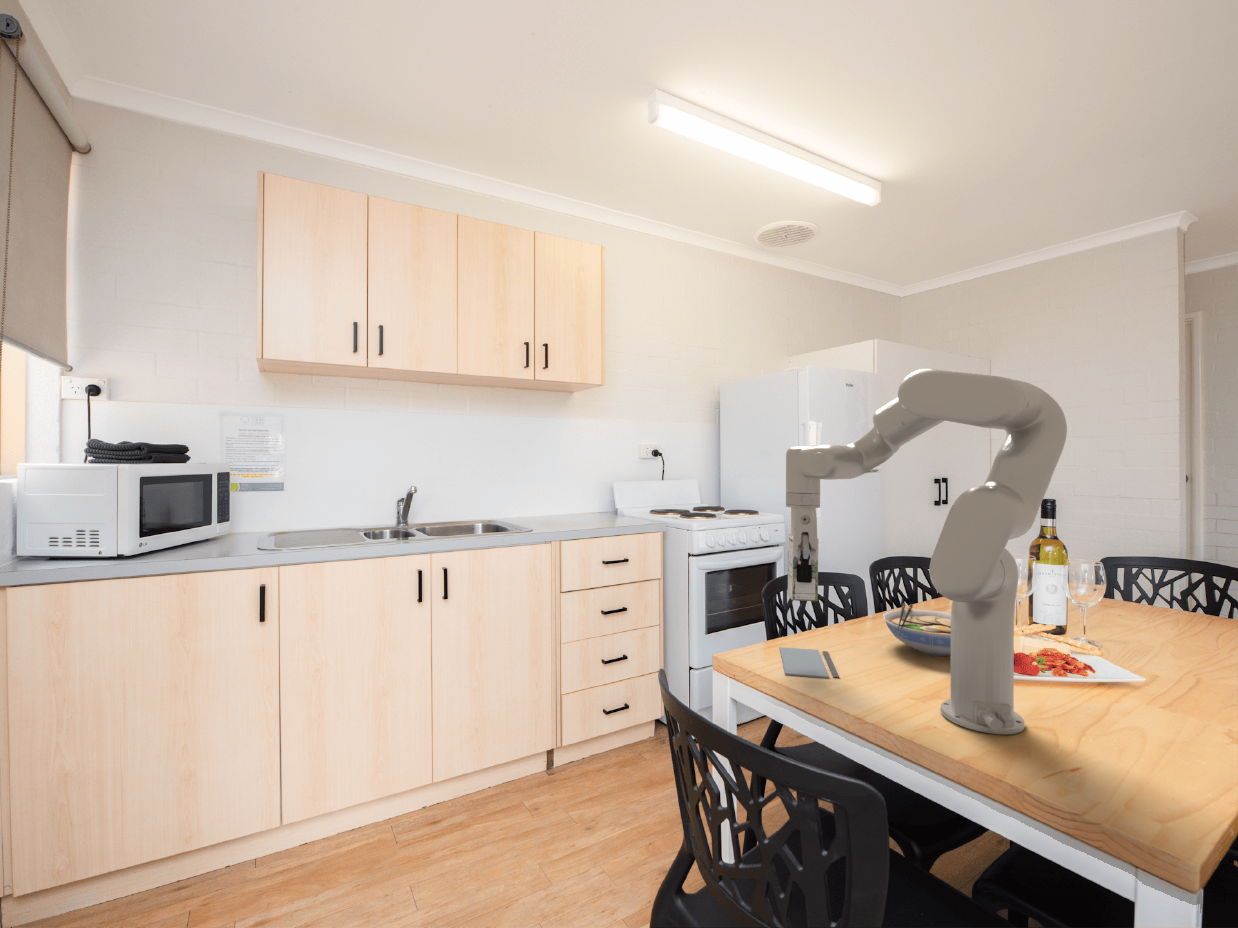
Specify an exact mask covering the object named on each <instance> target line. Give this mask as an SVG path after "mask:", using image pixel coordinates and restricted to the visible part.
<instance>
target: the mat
mask: <svg viewBox="0 0 1238 928" xmlns="http://www.w3.org/2000/svg"><path fill="white" fill-rule="evenodd" d="M779 651H780V656H781V661H782V665H783V666H782V667H783V671H784V675H785V676H791V677H792V676H793V677H805V678H806V677H807V678H820V679H830V675H829V672H828V670H827V668H826V664H825V663H824V660H823V658H822V656H821V653H820V651H819V649H810V648H799V647H797V648H796V647H782V646H779Z"/></svg>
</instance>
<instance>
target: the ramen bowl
mask: <svg viewBox="0 0 1238 928" xmlns="http://www.w3.org/2000/svg"><path fill="white" fill-rule="evenodd" d="M901 605H902V606H901V609H896V610H890V611H887V612H885V613H883V614H882V617H883V620H884V621H885V624H886V626H887V627H888V629H889V631H890V632H891V634H893V636H894V637H895V638H896V639H897V640H899V641H900V642H902V643H903V644H905V645H906V646H909V647H910V648H913V649H916V651H918V652H920V653H922V654H924V655H929V656H936V657H947V656H951V612H950V613H949V612H943V611H937V610H927V609H926V610H925V609H913V606H914V605H913V603H910V604H909V606H908V609H906V603H905V602H903V603H902V604H901Z"/></svg>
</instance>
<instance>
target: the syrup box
mask: <svg viewBox="0 0 1238 928" xmlns="http://www.w3.org/2000/svg"><path fill="white" fill-rule="evenodd" d="M817 545H818V546H819V538H818V537H817ZM800 550H803V548H801V547H800ZM814 551H815V550H812V549H811V565H812V582H811V583H801V582H797V564H798V552H797V551H796V550H795V547H794V538H793V536H792V535H791V534H788V535H787V584H786V585H787V586H786V587H787V588H786V589H787V596H788V597H789V598H790V599H791V601H794V602H795V601H798V602H801V601H802V602H803V601H804V602H818V595H819V593H818V591H819V549H818V550H817V552H814Z"/></svg>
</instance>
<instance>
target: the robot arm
mask: <svg viewBox="0 0 1238 928" xmlns="http://www.w3.org/2000/svg"><path fill="white" fill-rule="evenodd" d="M872 421H873V427H872V428H871V429H870V430H869V431H868V432H867V433H866V434H864V435H862V436H861V437H860V438H858V439H856V440H854V441H853V442H851V443H850V444H847V445H845V444H843V445H842V444H822V445H817V446H792V447H788V448H787V450H786V453H785V454H786V455H785V507H786V508H790V533H791V534H790V535H792V536H793V538H794V547H795V550H796V551H797V552H798V564H797V582H801V583H811V582H812V565H811V549H812V550H815V551H814V552H817V550H818V551H819V544H818V545H817V538H818V521H817V519H818V517H817V509H818V508H821V480H826V481H827V480H832V481H833V480H851V479H855V478H858V477H860V476H863V475H864V474H866V473H868V472H870V471H871V470H874V469H875V468H877V467H878V466H880V465H883V464H884V463H885V462H886V461H888V460H890V458H892V457H893V456H894V454H896V453H897V452H898V450H899V449H900V448H901V447H902V446H903V445H906V444H907V443H909V442H910V441H912V440H913V439H916V438H917V437H919V436H921V435H923V434H924V433H927V431H929V430H931V429H933V428H934V427H937V426H938V425H940V424H942V423H943V422H945V421H946V422H951V423H958V424H964V425H969V426H974V427H979V428H985V429H996V430H1004V431H1005V433H1006V437H1005V440H1004V442H1003V444H1001V446H1000V448H999V450H998V452H997V453H996V455H995V457H994V460H993V462H992V465H991V469H990V471H989V474H988V475H987V477H986V480H985V481H984V484H983V485H977V486H974V487H971V488H969V489H967V490H965V491H964V492H962V493H961V494H960V495H958V497H957V498H956V500H954V502H953V504H952V505H951V507H950V509H949V510H948V514H947V516H946V519H945V521H944V523H943V527H942V529H941V532H940V534H939V537H938V539H937V542H936V545H935V547H934V549H933V553H932V555H931V557H930V563H929V568H928V569H929V577H930V582H931V584H932V585H933V588H935V590H936V591H937V592H938V593H939V594H940V595H941V596H943V598H945V599H948V600H949V601H951V610H950V613H951V655H950V699H946V700H944V701H942V703H940V712H941V713H940V714H942V716H944V718H946V720H948V721H950V722H952V723H953V724H956V725H958V726H961V727H962V728H963V727H964V728H966V729H968V730H972V731H976V732H980V733H985V734H991V735H1015V734H1018V733H1021V732H1022V731H1024V729H1025V720H1024V718H1023V717H1022V716H1021V715H1020V714H1019V713H1018V712H1016V711H1014V704H1015V703H1014V691H1015V690H1014V689H1015V688H1014V685H1015V684H1014V683H1015V682H1014V680H1015V679H1014V675H1015V674H1014V669H1015V668H1014V667H1015V666H1014V661H1015V660H1014V659H1015V658H1014V657H1015V656H1014V655H1015V653H1014V651H1015V650H1014V649H1015V647H1014V643H1015V639H1014V637H1015V611H1016V610H1015V608H1016V599H1017V592H1018V586H1019V584H1018V583H1019V570H1018V565H1017V562H1016V559H1015V558H1014V556H1013V555H1012V554H1011V552H1010V551H1009V550H1007V548H1006V547H1007V545H1008V543H1009V541H1010V540H1014V539H1017V538H1021V537H1022V536H1023V535H1025V534H1027V533H1028V532H1029V531H1030V530H1031V528H1032V527H1033V525H1034V523H1035V520H1036V517H1037V516H1038V513H1039V510H1040V507H1041V505H1042V502H1043V500H1044V497H1045V495H1046V493H1047V491H1048V488H1049V486H1050V483H1051V480H1052V478H1053V475H1054V473H1055V470H1056V467H1057V465H1058V463H1059V461H1060V458H1061V456H1062V453H1063V450H1064V449H1065V448H1064V447H1065V443H1066V440H1067V435H1068V433H1067V432H1068V425H1067V420H1066V416H1065V414H1064V412H1063V409H1062V407H1061V406H1060V405H1059V403H1058V402H1057V400H1055V398H1053V397H1052V396H1051V394H1049V393H1047V392H1046V391H1045V390H1043V389H1042V388H1040V387H1039V386H1037V385H1034V384H1031V382H1030V383H1029V382H1025V381H1023V380H1019V379H1012V378H1009V377H1004V376H1003V377H1002V376H997V375H990V374H978V373H971V372H970V373H969V372H959V371H950V370H943V369H938V368H937V369H935V368H927V367H925V368H920V369H917V370H915V371H913V372H911V373H909V374H907V376H905V378H904V379H903V380H902V381H901V383H900V385H899V387H898V391H897V397H896V398H894V399H893V400H891V401H889V402H888V403H886V404H884V405H883V406H882V407H880V408H878V409H876V411H875V412H874V413H873V417H872ZM800 547H801V548H803V550H800Z"/></svg>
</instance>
